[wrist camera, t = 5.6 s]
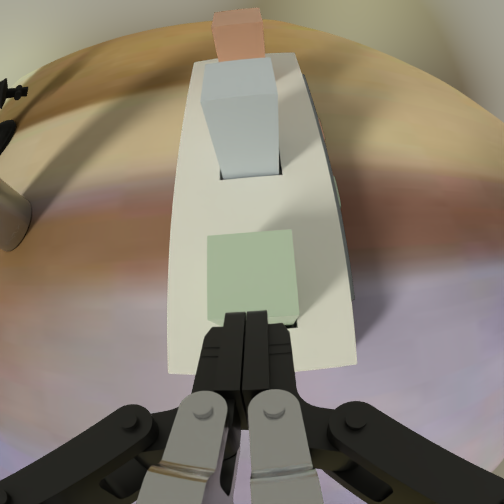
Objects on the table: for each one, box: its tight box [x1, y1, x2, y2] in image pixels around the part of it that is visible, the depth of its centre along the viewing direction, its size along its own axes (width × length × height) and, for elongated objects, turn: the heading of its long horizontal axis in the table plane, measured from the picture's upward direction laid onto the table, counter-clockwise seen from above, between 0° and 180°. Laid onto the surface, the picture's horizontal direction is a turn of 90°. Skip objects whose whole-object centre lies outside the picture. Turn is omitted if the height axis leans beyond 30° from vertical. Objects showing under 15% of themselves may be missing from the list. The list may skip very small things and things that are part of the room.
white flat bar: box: [167, 53, 357, 375], centre depth 28 cm, size 38×15×6 cm, turn 3°
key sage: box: [207, 229, 299, 329], centre depth 21 cm, size 5×5×10 cm
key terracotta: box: [212, 8, 265, 62], centre depth 26 cm, size 5×5×10 cm
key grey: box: [200, 57, 279, 180], centre depth 22 cm, size 5×5×10 cm
